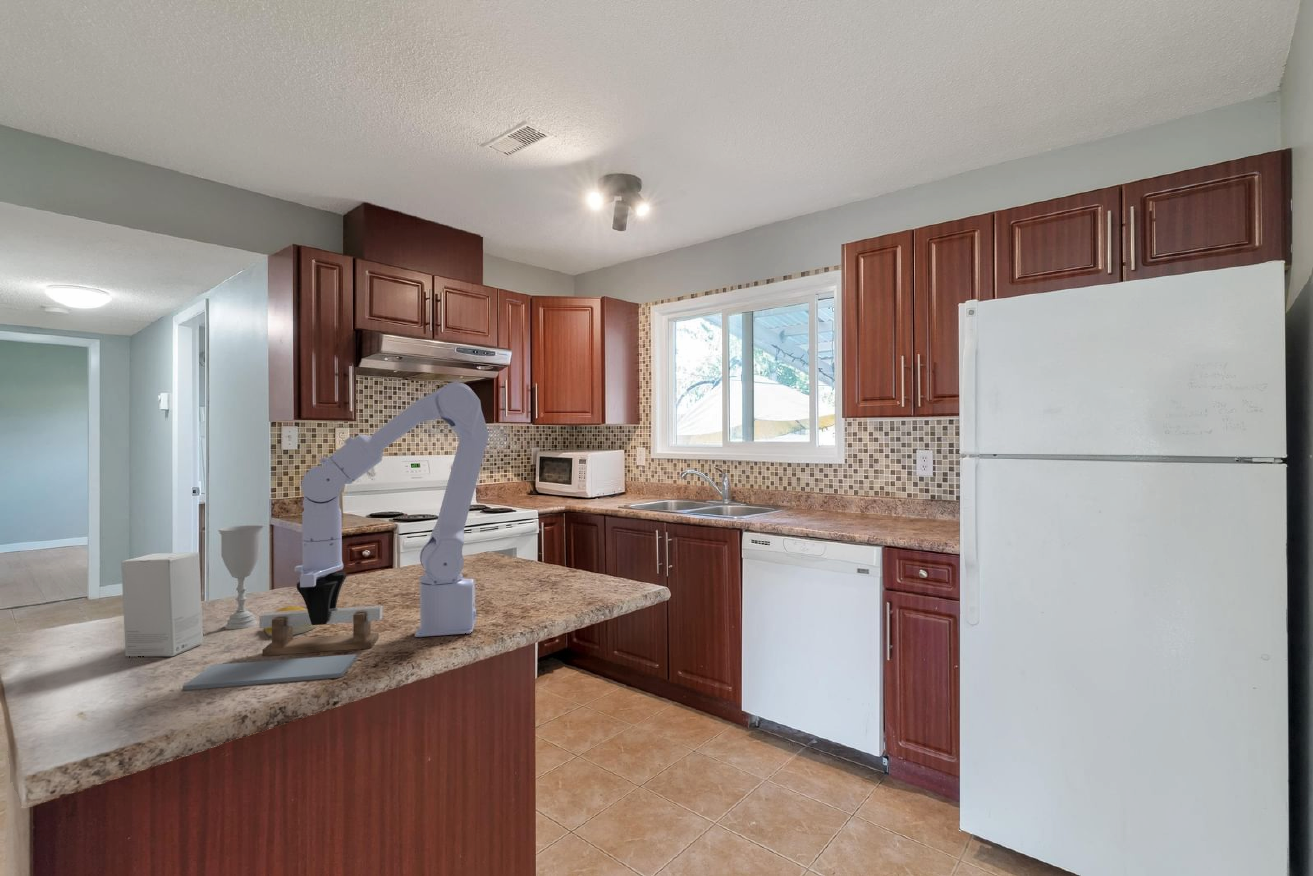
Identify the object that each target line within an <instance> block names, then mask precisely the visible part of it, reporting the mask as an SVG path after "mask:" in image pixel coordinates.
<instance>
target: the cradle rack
mask: <svg viewBox="0 0 1313 876" xmlns="http://www.w3.org/2000/svg"><path fill="white" fill-rule="evenodd" d="M352 624H353V626H352V630H353V631H352V632H353V634H351V633H350V634H339V635H337V634H336V635H325V636H311V637H309V636H307V637H297V638H295V637H294V635H293V626H287V627H285V618H274V619H272V636H271V642H270V643H269V644H268V645H266V646H265V647H264V648H263V649H262V657H267V656H278V655H279V656H280V655H293V654H294V655H295V654H310V653H319V652H320V653H323V652H336V651H346V650H347V651H348V650H349V651H350V650H361V649H372V647H374V645H375V644H376V642H378V640H379V637H380V634H379V632H371V621H365V613H355V614H354V615H353V622H352Z"/></svg>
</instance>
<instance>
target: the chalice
mask: <svg viewBox="0 0 1313 876" xmlns="http://www.w3.org/2000/svg"><path fill="white" fill-rule="evenodd" d="M263 528H264V525H235V526H226V527H221V528H218V529H217V531H218V532H219V534H220V536H221V538H220V539H221V540H220V541H221V543H220V547H221V549H220V551H221V553H220V555H221V558H222V560H223V563H224V566H225V567H226V569H227V571H228V572H229V574H230V577H232V578H234V579H237V583H238V584H237V588H236V589H235V590H236V591H237V594H238V595H237V597H236V599H235V601H236V602H237V604H238V606H237V609H236V610H235V612H233V613H232V612H231V614H230V616H228V617H229V618H228V620H227V621H226V624H225V625H224V626H225V627H224V628H225V629H226V630H241V629H245V628H249V627H250V628H251V627H253V626H255V625H257V624H258V621H257V620H256V617H255V615H254V612H252V611H251V610H247V608H246V607H245V602H246V600H247V597H246V596H245V591H246V589H247V587H246V584H245V580H246V579H245V578H248V577H249V576H251V574H252V572H253V570H254V568H255V566H256V564H257V562H258V560H259V557H260V554H261V532H262V530H263Z"/></svg>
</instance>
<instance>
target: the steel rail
mask: <svg viewBox="0 0 1313 876" xmlns="http://www.w3.org/2000/svg"><path fill="white" fill-rule="evenodd" d="M383 608H384V606H383V605H380V604H379V605H368V606H367V605H366V606H363V605H362V606H349V607H348V606H347V607H336V608H330V610H329V617H328V621H327V623H326V624H325V625H330V624H346V623H353V615H354V614H355V613H365V621H370V622H375V621H381V619H383V617H384V615H383V613H384V611H383ZM258 616H259V618H258V619H259V620H258V621H259V629H264V628H272V619H274V618H285V627H287V626H302V625H312V624H311V621H310V618H309V614H308V610H296V611H279V612H275V611H265V612H262V613H261V614H260V615H258Z"/></svg>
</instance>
